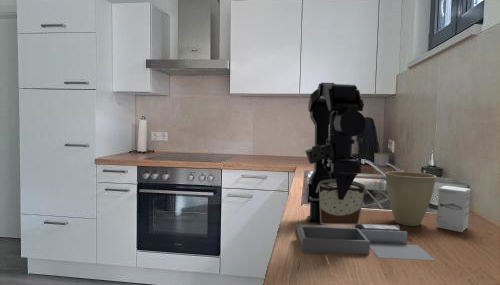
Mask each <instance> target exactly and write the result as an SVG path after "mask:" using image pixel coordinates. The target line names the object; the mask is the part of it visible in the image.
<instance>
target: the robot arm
mask: <svg viewBox="0 0 500 285" xmlns="http://www.w3.org/2000/svg"><path fill="white" fill-rule="evenodd" d="M364 103H365V102H364V101H363V97H362V94H361V91H360V89H358V86H357V84H349V83H347V84H346V83H345V84H344V83H343V84H340V83H334V82H321V83H318V86H317V89H316V90H314V91H313V92H312V93H311V94H310V95H309V99H308V106H307V109H308V113H309V118H310V120H311V122H312V123H313V125H314V145H313V146H311V148H309V149H307V150H305V151H304V152H305V155H306V157H307V160H308V163H309V164H311V165H312V164H313V165H314V168H313V170H314V171H312V173H311V175H310V177H309V179H308V183H307V184H306V189H305V193H304V198H305V199H304V201H305V202H306V203H308V204H309V215H307V220H308V222H309V223H312V224H313V223H314V224H320V208H319V189H318V192H317V193H316V189H317V186H318V184H319V182H320V181H323V180H328V179H336V184H337V192H338V199H339V200H343V199H344V197H345V195H346V193H347V191H348V189H349V187H350V186H351V184H352V182H353V181H354V180H355V179H356V177H357V176H358V174H362V164H361V163H360V162H359V161H358V160H356V159H355V158H354V157H355V156H353V144H355V139H353V138H354V137H357V136H359V135H361V134H362V133H363V132H364V131H365V129H366V125H367V121H366V118H365V116H364V115H363V113H362V112H363V110H364V106H365V104H364Z"/></svg>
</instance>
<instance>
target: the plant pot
mask: <svg viewBox="0 0 500 285" xmlns="http://www.w3.org/2000/svg"><path fill="white" fill-rule="evenodd" d="M436 180H437V176H436V175H434V174H429V173H425V172H424V173H423V172H413V171H400V170H399V171H392V170H391V171H385V183H386V190H387V195H388V202H389V205H390V209H391V213H392V215H393V218H394V221H395V223H396V224H398V225H399V224H400V225H402V226H408V227H409V226H410V227H419V226H421V224H422V221H423V220H424V219H425V216H426V214H427V212H428V208H429V206H430V204H431V199H432V196H433V192H434V188H435V185H436Z"/></svg>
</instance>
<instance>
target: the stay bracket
mask: <svg viewBox="0 0 500 285" xmlns="http://www.w3.org/2000/svg"><path fill="white" fill-rule="evenodd" d="M362 225H379V224H375V223H373V224H372V223H371V224H370V223H359V224H358V225H354V228H359V229H360V231H361V232H362V233H363V234H364V235H365V236H366V238H367V239H368V240H369V241H370V243H379V244H402V245H408V231H407V230H405V231H402V230H399V231H384V230H362ZM385 225H386V226H396V227H397V228H398V229H400V225H399V224H397V225H396V224H385Z"/></svg>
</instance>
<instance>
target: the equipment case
mask: <svg viewBox="0 0 500 285" xmlns="http://www.w3.org/2000/svg"><path fill="white" fill-rule="evenodd" d="M295 229H296V233H297V237H298V241H299V244H300V249H301V252H302V253H303V254H319V255H326V254H328V253H330V254H348V255H351V254H352V255H370V249H371V248H370V241H369V240H368V239H367V238H366V236H365V235H364V234H363V233H362V232H361V231H360V229H359V228H355V227H353V228H352V227H350V226H341V225H340V226H339V225H322V224H320V225H319V224H318V225H316V224H295Z"/></svg>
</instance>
